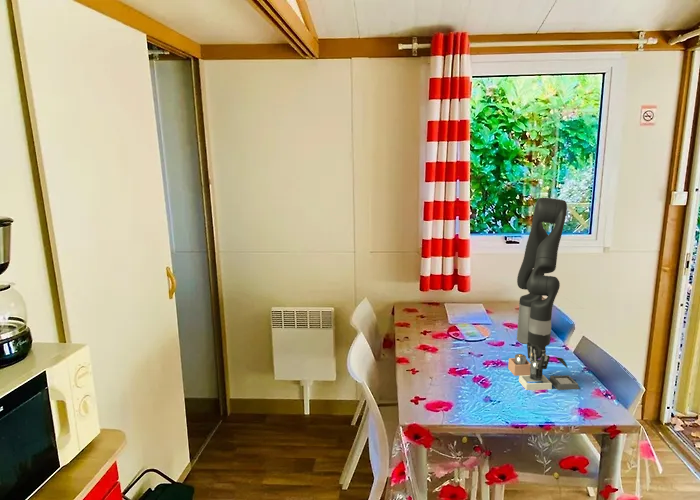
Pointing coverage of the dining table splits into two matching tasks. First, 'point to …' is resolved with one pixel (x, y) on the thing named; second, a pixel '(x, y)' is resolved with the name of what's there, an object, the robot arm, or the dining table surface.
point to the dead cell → (520, 359)
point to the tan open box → (519, 368)
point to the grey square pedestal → (563, 386)
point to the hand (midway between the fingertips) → (535, 374)
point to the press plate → (563, 380)
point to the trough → (535, 386)
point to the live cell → (533, 371)
